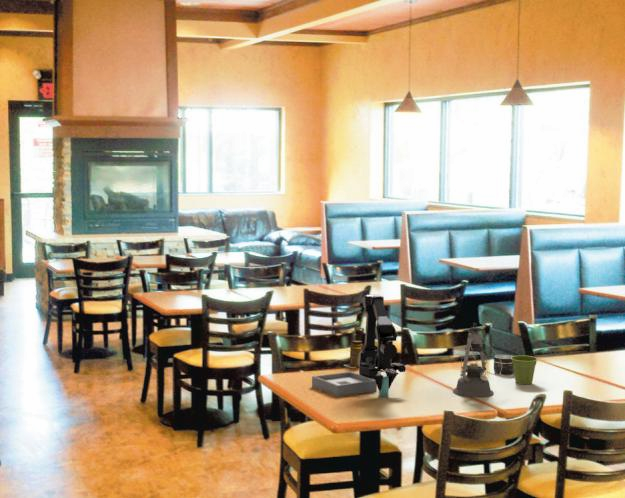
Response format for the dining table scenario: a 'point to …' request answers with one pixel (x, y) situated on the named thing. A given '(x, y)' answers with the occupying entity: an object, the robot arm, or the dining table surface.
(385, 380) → the peg
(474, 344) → the lantern
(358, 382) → the box
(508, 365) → the jar
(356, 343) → the condiment
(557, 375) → the dining table surface
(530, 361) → the plant pot
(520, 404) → the dining table surface
